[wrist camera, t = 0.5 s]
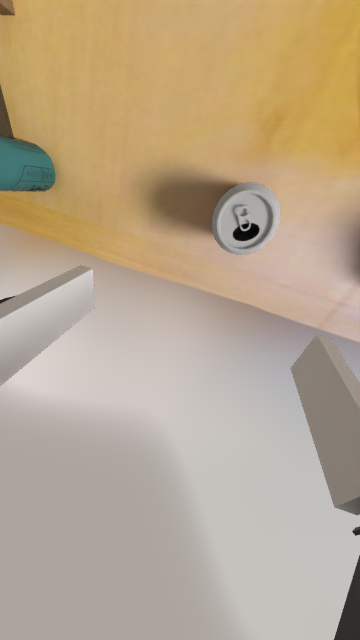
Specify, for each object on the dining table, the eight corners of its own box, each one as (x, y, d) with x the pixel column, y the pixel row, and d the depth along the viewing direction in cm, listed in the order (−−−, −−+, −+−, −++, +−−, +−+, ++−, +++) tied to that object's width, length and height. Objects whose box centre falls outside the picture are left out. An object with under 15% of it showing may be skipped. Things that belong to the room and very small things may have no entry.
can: (221, 243, 34) (216, 264, 24) (213, 194, 31) (204, 194, 21) (268, 233, 32) (284, 251, 22) (266, 178, 28) (283, 169, 19)
